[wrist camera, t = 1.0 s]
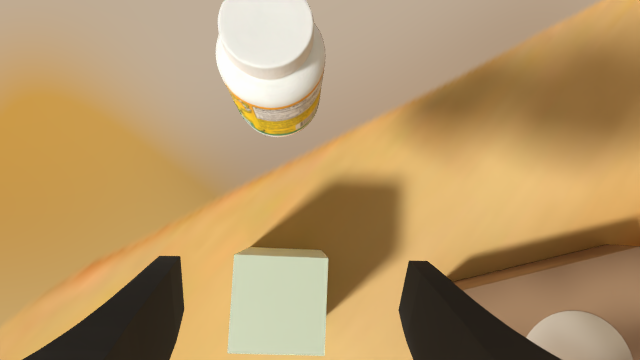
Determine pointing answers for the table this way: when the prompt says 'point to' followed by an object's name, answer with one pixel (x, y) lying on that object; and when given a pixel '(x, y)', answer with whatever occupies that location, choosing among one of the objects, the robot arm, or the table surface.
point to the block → (278, 302)
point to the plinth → (570, 302)
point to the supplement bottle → (271, 62)
